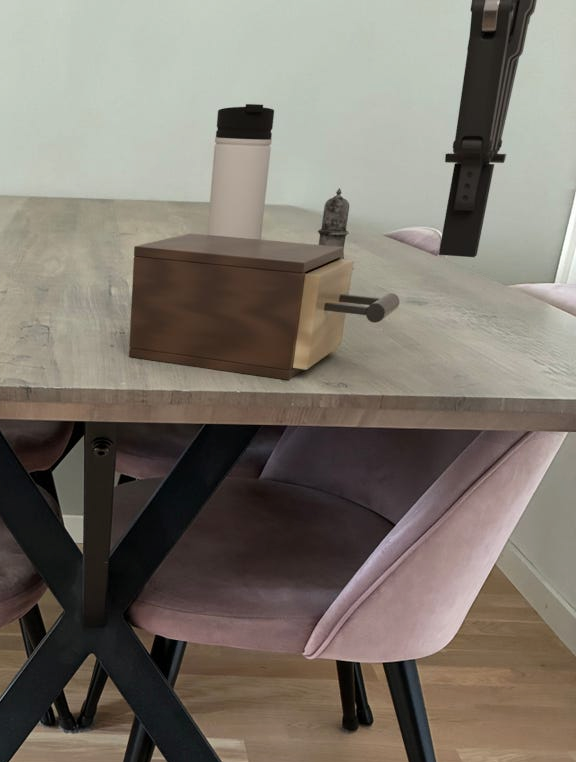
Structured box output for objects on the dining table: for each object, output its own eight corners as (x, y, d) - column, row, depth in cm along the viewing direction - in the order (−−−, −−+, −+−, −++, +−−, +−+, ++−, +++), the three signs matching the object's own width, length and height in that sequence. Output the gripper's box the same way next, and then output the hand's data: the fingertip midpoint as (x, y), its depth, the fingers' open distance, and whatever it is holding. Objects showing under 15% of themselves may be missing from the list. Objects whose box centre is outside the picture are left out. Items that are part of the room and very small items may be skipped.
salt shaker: (357, 299, 115) (375, 189, 109) (332, 304, 111) (348, 191, 105) (316, 292, 118) (330, 185, 113) (289, 297, 115) (303, 187, 109)
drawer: (395, 352, 85) (411, 265, 81) (367, 378, 76) (383, 282, 73) (202, 327, 92) (209, 246, 88) (155, 348, 83) (161, 259, 79)
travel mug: (210, 300, 111) (227, 103, 101) (196, 290, 116) (211, 103, 106) (262, 300, 111) (284, 105, 102) (245, 291, 117) (265, 105, 107)
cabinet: (328, 352, 88) (344, 247, 84) (288, 380, 78) (304, 262, 74) (182, 333, 94) (190, 233, 89) (128, 356, 84) (133, 246, 79)
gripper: (481, -98, 71) (424, 243, 82) (453, -135, 61) (393, 261, 72) (591, -106, 68) (516, 249, 79) (582, -145, 58) (497, 268, 69)
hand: (457, 254), depth 76 cm, fingers closed
